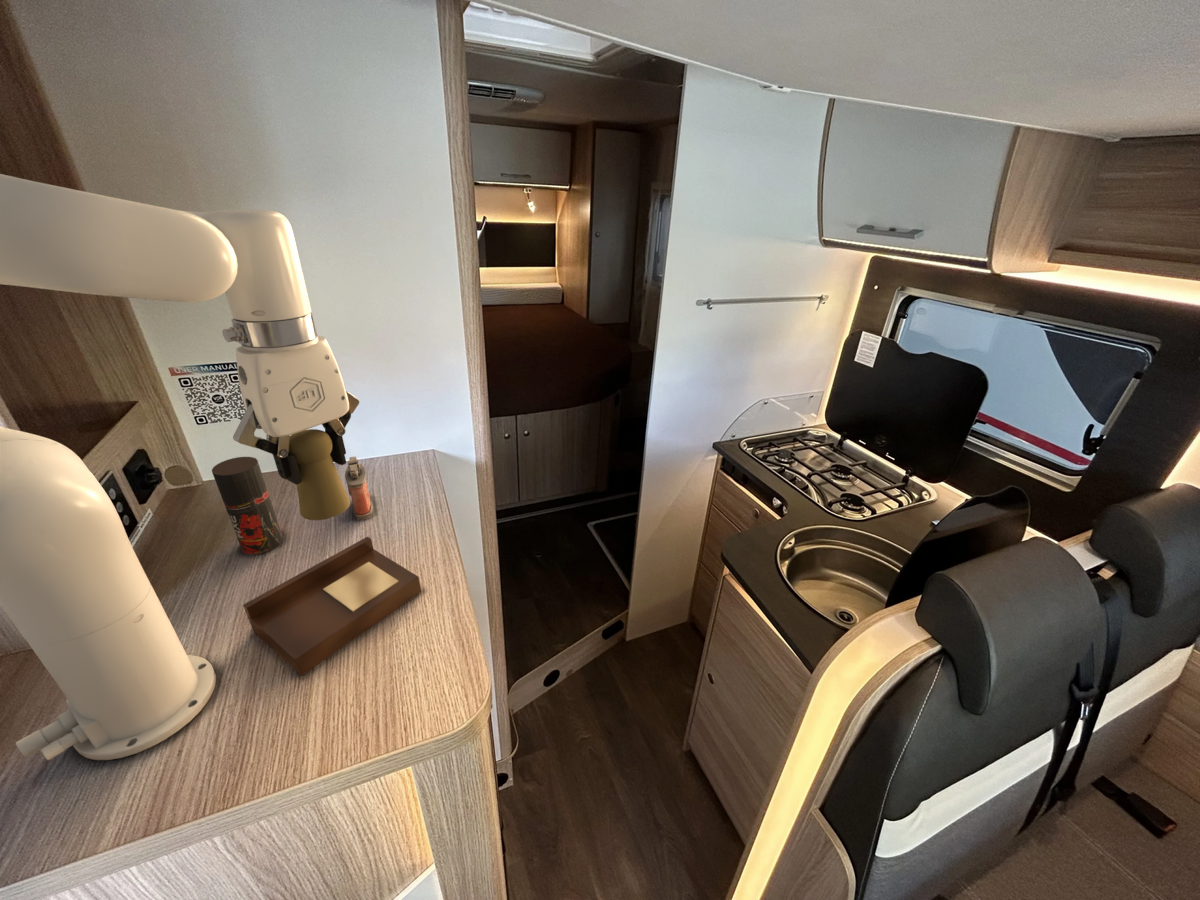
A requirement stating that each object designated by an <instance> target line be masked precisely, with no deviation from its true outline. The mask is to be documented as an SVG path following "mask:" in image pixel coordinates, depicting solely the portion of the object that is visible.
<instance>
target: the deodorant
mask: <svg viewBox="0 0 1200 900" xmlns="http://www.w3.org/2000/svg"><path fill="white" fill-rule="evenodd" d="M211 473H212V475H213V478H214V481H215V484H216V486H217V489H218V491H219V494H220V497H221V499H222V502H223V504H224V507H225V510H226V512H227V515H228V517H229V520H230V523H231V525H232V528H233V530H234V534H235V536H236V538H237V539H236V540H237V541H238V543H239V546H240V549H241V552H242V553H243V554H247V555H261V554H264V553H267V552H270V551H272V550H274V549H275V548H277V547H278V546H280V545H281V544H282V542H283V540H284V537H283V533H282V530H281V527H280V524H279V522H278V521H279V520H278V518H277V515H276V512H275V509H274V505H273V503H272V500H271V497H270V494H269V490H268V488H267V485H266V481H265V479H264V476H263V473H262V470H261V467H260V464H259V460H258V459H257V458H256V457H253V456H238V457H237V456H236V457H233V458H229V459H226V460H223V461H221V462H219V463H217V464H216V465H214V466H213V467H212V469H211Z"/></svg>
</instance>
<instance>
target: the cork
mask: <svg viewBox="0 0 1200 900" xmlns="http://www.w3.org/2000/svg"><path fill="white" fill-rule="evenodd" d="M332 446H333V445H332V440H331V438H330V437H329V435H328V434H327V433H326V432H325V430H322V429H317V428H316V429H315V428H309V429H306V430H304V431H301V432H298V433H295V434H292V435H290V441H289V452H290V453H291V454H293V455H295V457H296V461H297V464H298V468H299V471H300V475H301V478H302V481H301V483H299V484H297V485H296V490H297V498H298V499H297V500H298V505H299V506H298V507H299V514H300V516H301V517H302V518H303V519H304V520H309V521H324V520H328V519H332V518H335V517H337V516H339V515H341V514H343V513H344V512H346V511H347V510H348V508H350V505H351V501H350V498H349V495H348V493H347V491H346V489H345V486H344V484H343V482H342V479H341V477H340V475H339V472H338V470H337V467H336V465H335V462H333V460H332V458H331V456H330V453H331V451H332Z"/></svg>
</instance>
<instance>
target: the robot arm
mask: <svg viewBox="0 0 1200 900" xmlns="http://www.w3.org/2000/svg"><path fill="white" fill-rule="evenodd" d="M299 256H300V255H299V252H298V248H297V243H296V238H295V235H294V231H293V228H292V225H291V223H290V221H289V219H288V218H287V217H286V216H285V215H284V214H282V213H281V212H278V211H275V210H271V209H249V208H248V209H247V208H246V209H245V208H237V209H236V208H233V209H232V208H231V209H230V208H229V209H228V208H227V209H217V210H213V211H211V212H209V211H208V212H206V211H189V210H179V209H174V208H170V207H163V206H158V205H155V204H154V205H153V204H149V203H143V202H138V201H133V200H129V199H123V198H117V197H112V196H108V195H102V194H98V193H93V192H88V191H83V190H77V189H73V188H68V187H63V186H58V185H53V184H49V183H44V182H39V181H34V180H29V179H24V178H20V177H17V176H13V175H7V174H3V173H0V285H5V286H6V285H7V286H15V287H25V288H33V289H40V290H41V289H42V290H49V291H60V292H67V293H68V292H69V293H75V294H86V295H95V296H104V297H105V296H106V297H118V298H129V299H138V300H139V299H140V300H150V301H162V302H163V301H164V302H175V303H177V302H178V303H200V302H208V301H210V300H213V299H216V298H218V297H220V296H222V295H223V294H225V296H226V300H227V304H228V306H229V309H230V312H231V315H232V319H231V323H232V324H231V325H232V326H230V327H229V328H225V329H222V331H221V332H222V336H223V338H224V340H225V342H227V343H231V342H235V343H238V344H240V345H241V346H238V347H236V350H235V352H236V353H235V354H236V369H237V370H236V371H237V376H238V383H239V389H240V392H241V396H242V401H243V405H244V406H243V407H244V409H245V412H244V414H243V415H242V418H241V420H240V422H239V424H238V426H237V428H236V430H235V432H234V433H233V435H232V439H233V441H235V442H237V443H239V444H241V445H243V446H247V447H251V448H255V449H257V450H260V451H263V452H266V453H268V454H270V455H272V456H273V460H274V463H275V467H276V470H277V472H278V475H279V476H280V478H281V479H283V480H286V481H288V482H290V483H292V484H294V485H296V486H297V484H299V483H301V481H302V478H301V475H300V471H299V468H298V464H297V461H296V457H295V455H293V454H291V453H290V452H289V441H290V436H291V435H292V434H295V433H298V432H301V431H304V430H308V429H313V428H315V427H317V426H321V425H322V427H323V429H324V432H326V433H327V434H328V435H329V437H330V438H331V440H332V445H333V446H332V451H331V453H330V456H331V458H332V460H333V463H334V464H337V465H339V466H344V465H346V464H347V459H346V454H347V451H346V446H345V443H344V442H345V441H344V438H343V436H344V435H345V434H346V427H347V425H348V424H349V421H350V420H351V419H352V414H353V413H354V412H355V411H356V409H357V408H358V406H359V404H360V399H358V398H357V397H356V396H355V395H353V394H351V393H350V392H349V391H347V390H346V386H345V383H344V379H343V376H342V374H341V370H340V368H339V365H338V363H337V360H336V358H335V355H334V353H333V351H332V348H331V346H330V345H329V343H328V341H327V339H326V337H325V336H321V335H318V333H317V329H316V324H315V320H314V315H313V311H312V308H311V307H312V306H311V302H310V299H309V295H308V290H307V287H306V282H305V278H304V273H303V269H302V264H301V260H300V257H299ZM256 430H262V431H263V432H264V433H265V435H266V436H265V437H266V438H263V437H261V436H258V435H255V432H256ZM83 461H84V460H82V459H81V457H80V456H78V454H77V453H76V452H74V451H73V450H72V449H70V448H69V447H67V446H66V445H64V444H62V443H60V442H58V441H56V440H53V439H51V438H48V437H45V436H41V435H37V434H34V433H30V432H26V431H22V430H17V429H13V428H7V427H3V426H0V607H1V609H2V610H3V611H4V613H5V614H6V616H7V617H8V619H9V620H10V621H11V622H12V624H13V625H14V626H15V628H16V629H17V631H18V632H19V634H20V635H21V637H23V639H24V640H25V641H26V643H27V644H28V645H29V647H30V648H31V649H32V651H33V652H34V654H35V655H36V657H37V658H38V659H39V661H40V662H41V663H42V665H43V666H44V668H45V669H46V670H47V672H48V673H49V675H50V676H51V678H52V679H53V680H54V682H55V683H56V684H57V686H58V687H59V689H60V690H61V691H62V693H63V694H64V696H65V698H66V700H65V704H66V705H67V707H68V709H67V710H65V711H64V712H61V713H60V714H58V715H57V720H55V721H53V722H51V723H49V724H48V725H45V726H44V727H42V728H41V729H40V728H39V729H37V730H35V731H34V732H31V733H30V734H28V735H27V736H24V737H23V738H21V739H19V740H17V741H15V746H16V747H17V749H18V751H19V752H20V754H21V756H23V757H24V758H25V759H28V758H29V757H31V756H33V755H35V754H36V753H38V752H39V751H41V753H42V755H43V757H44V758H45V759H46V760H47V761H50V760H52V759H53V758H56V757H57V756H59V755H60V754H62V753H63V752H65V751H66V750H68V749H69V748H70V747H73V748H74V749H75V750H76V752H77V753H78V754H79V755H81V756H83V757H84V758H86V759H89V760H94V761H111V760H117V759H123V758H126V757H129V756H132V755H135V754H139V753H141V752H143V751H145V750H148V749H150V748H152V747H154V746H157V745H158V744H159V743H161V742H164V741H166V740H167V739H168V738H170V737H171V736H173V735H174V734H176V733H177V732H179V731H180V730H181V729H183V728H184V727H185V726H187V724H189V723H190V722H191V721H192V720H193V719H194V718H195V717H196V716H197V715H199V713H200V712H201V711H202V710H203V708H205V706H206V704H207V703H208V702H209V701H210V698H211V697H212V695H213V693H214V690H215V688H216V684H217V676H216V671H215V669H214V668H213V666H212V665H213V664H212V663H210V662H209V661H208V660H207V658H204V657H201V656H200V655H199V656H198V655H194V654H187V652H186V650H185V648H184V646H183V644H182V643H181V640H180V639H179V636H178V634H177V632H176V631H175V629H174V627H173V625H172V623H171V621H170V618H169V617H168V615H167V613H166V611H165V609H164V607H163V605H162V602H161V601H160V599H159V597H158V596H157V594H156V591H155V590H154V587H153V585H152V583H151V582H150V579H149V578H148V576H147V574H146V572H145V570H144V567H143V566H142V564H141V562H140V560H139V558H138V556H137V554H136V552H135V550H134V547H133V545H132V544H131V541H130V538H129V537H128V534H127V532H126V529H125V527H124V524H123V521H122V520H121V517H120V515H119V513H118V511H117V509H116V507H115V505H114V503H113V502H112V500H111V498H110V497H109V495H108V493H107V492H106V491H105V488H103V486H102V485H101V483H100V482H99V481H98V480H97V478H96V477H95V475H94V474H93V473H92V472H91V471H90V470H89V468H88V467H87V465H86V464H85V462H83Z"/></svg>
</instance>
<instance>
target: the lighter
mask: <svg viewBox="0 0 1200 900" xmlns="http://www.w3.org/2000/svg"><path fill="white" fill-rule="evenodd" d="M366 473H367V472H366V469H365V467H364V465H363V464H362V463H360V462H359V460H358V458H357V456H350V457H349V458H348V460H347V466H346V469H345V473H344V478H345V483H346V486H347V490H348V494H349V495H348V496H350V499H351V502H352V504H351V506H352V511H353V515H354V517H355V519H356V520H357V521H358V520H360V521H363V520H367V519H369V518H371V517H372V515H373V511H374V505H373V500H372V498H371V495H370V493H369V487H368V484H367V474H366Z"/></svg>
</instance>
